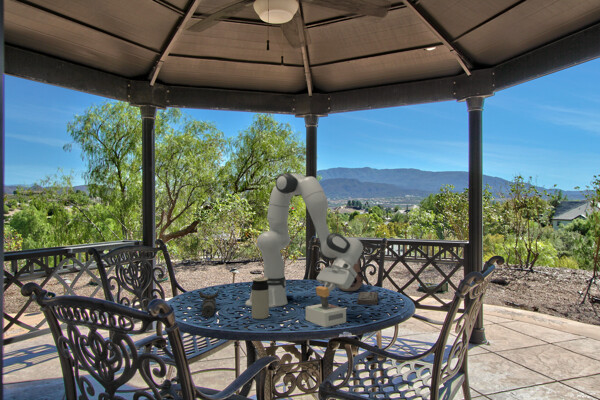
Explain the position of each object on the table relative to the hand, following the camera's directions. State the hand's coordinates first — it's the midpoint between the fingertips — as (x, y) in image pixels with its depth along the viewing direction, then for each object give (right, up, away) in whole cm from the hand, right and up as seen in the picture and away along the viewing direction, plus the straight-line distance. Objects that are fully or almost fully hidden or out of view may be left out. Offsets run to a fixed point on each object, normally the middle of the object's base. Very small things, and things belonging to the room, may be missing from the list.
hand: (325, 292), depth 178 cm
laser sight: (-57, -14, +18) cm, 61 cm away
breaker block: (0, -13, 0) cm, 13 cm away
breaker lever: (0, -6, 0) cm, 6 cm away
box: (+26, -14, +38) cm, 48 cm away
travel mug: (-30, -13, +7) cm, 34 cm away
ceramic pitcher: (+17, -14, +67) cm, 70 cm away
